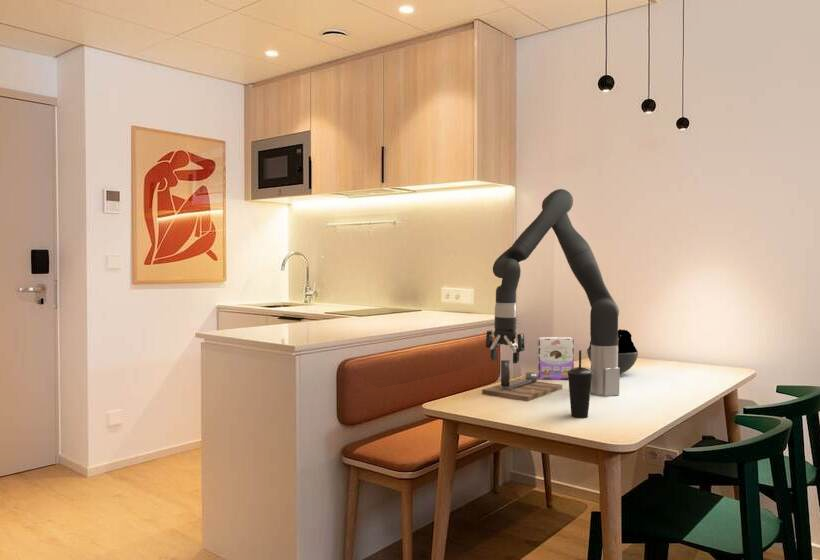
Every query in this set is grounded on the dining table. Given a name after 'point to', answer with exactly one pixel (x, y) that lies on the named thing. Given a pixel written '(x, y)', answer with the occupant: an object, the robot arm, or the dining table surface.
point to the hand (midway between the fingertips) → (504, 361)
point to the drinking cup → (579, 390)
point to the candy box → (554, 357)
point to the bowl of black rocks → (623, 351)
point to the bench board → (523, 390)
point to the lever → (507, 385)
